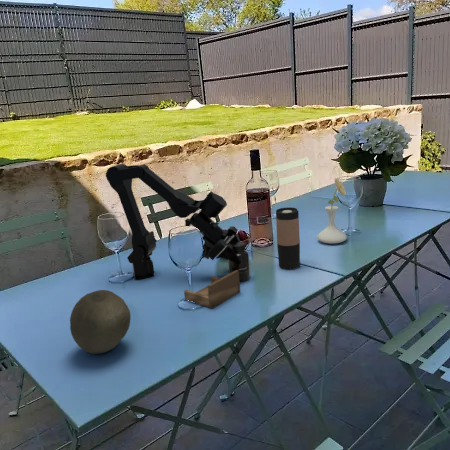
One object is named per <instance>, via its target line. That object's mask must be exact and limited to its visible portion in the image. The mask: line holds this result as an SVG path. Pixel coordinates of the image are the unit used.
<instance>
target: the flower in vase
mask: <svg viewBox="0 0 450 450" xmlns="http://www.w3.org/2000/svg"><path fill="white" fill-rule="evenodd" d="M334 185H335V187H336V189H335V191H334V193H333V197H332V200H331V199H329V200H328V203H327V204H330V205H328V206H325V207H324V209H325V210H326V212H327V215H328V223H327V227H326V228H324V229H323V230H322V231H321V232H320V231H319V233H318V235H317V237H316V239H317V240H318V241H319V242H321V243H325V244H339V243H342V242H344V241H345V242H346V240H347V238H348V235H346V233H345V232H343V230H341V229H340V228H338V227H337V226H336V223H335V219H336V218H335V217H336V212H337V210H338V209H339V207H338V206H337V205H334V203H338V202H339V200H340V199H339V198H338V196H337V195H336V192H337V191H338V193H339V194H340V195H341V196H343V197H346V194H347V192H346V190H345V189H346V187H345V186H344V184H343V182H342V180H340V178H338V177H334Z"/></svg>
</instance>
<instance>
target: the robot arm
mask: <svg viewBox="0 0 450 450" xmlns="http://www.w3.org/2000/svg"><path fill="white" fill-rule="evenodd" d="M105 178H106V180H107V182H108V183H109V186H110V187H111V188H112V190H114V192H116V194H117V196H118V198H119V201H120V203H121V207H122V209H123V211H124V215H125V218H126V220H127V224H128V226H129V229H130V231H131V247H132V248H131V249H132V251H131V253H130V254H129V255H128V256H127V257H126V258H127V260H128V263H130V264H131V265H132V271H133V272H132V274H133V277H134V280H141V279H142V280H143V279H147V278H151V277H155V274H154V273H155V268H154V261H153V260H152V258H151V256H152V255H153V252H154V251H155V250H156V248H157V242H158V240H157V239H156V237H155V233H154V230H152V231H149V230H148V229H147V228H146V226H145V223H144V220H143V218H142V215H141V212H140V209H139V206H138V203H137V201H136V197H135V195H134V192H133V188H132V187H133V179H139V180H141V182H143V183H144V184H145V185H146V186H147V187H149V188H150V189H151V190H152V191H153V192H155V193H156V194H157V195H158V196H160V197H161V198H162V199H163V200H164V201H165V202H166V203H167V204H168V206H169V208H170V209H171V211H172V212H173V213H174V214H175V216H176V217H178V218H181V219H182V218H183V219H184V222H185V226H189V227H190V226H192V227H193V226H194V227H196V228H198V229H199V230H200V232H199V234H201V235H202V240H203V241H204V243H203V244H202V247H203V249H204V251H203V257H202V258H201V259H204V258H205V259H207V260H209V259H210V260H211V261H214V259H222V258H223V259H225V260H227V261H228V260H230V261H232V262H234V263H236V264H238V265H239V264H240V263H241V261H240V259H239V257H238V256H237V254H236V253H235V251H234V249H233V248H232V246H231V245H230V244H231V243H234V242H241V240H240V237H239V234H238V230H239V229H238V228H236V226H229V227H228V229H225V230H224V229H223V228H222V227H220V225H219V224H220V222H218V221H216V222H215V221H214V220H213V219H215V218H217V217H218V216H219V215H220V214H221V213H222V211H223V210H224V209H225V208H226V207H227V206H228V203H227V201H226V200H225V198H224V197H222V196H221V195H219V194H218V193H214V192H213V191H212V190H211V191H210V192H208V193H207V194H206V197H205V198H204V199H203V200H197V199H194V198H193V197H191V196H189V195H187V194H185V193H184V192H182V191H181V192H180V191H179V190H176V189H175V188H174V187H172V186H171V185H170V184H168V182H166V181H165V180H164V179H162V177H160V176H159V175H158V174H157V173H155V172H154V171H153V170H152V169H150V168H149V165H147V164H140V165H133V164H132V165H127V164H125V163H119V164H116V165H112V166H110V167H108V169H107V170H106V172H105ZM198 211H199V212H198ZM197 212H198V213H197ZM190 215H191V217H189V216H190ZM188 217H189V218H188ZM185 218H186V219H185ZM212 218H213V219H212ZM185 226H184V227H185ZM194 227H193V228H194ZM196 228H195V229H196Z"/></svg>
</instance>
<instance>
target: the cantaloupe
mask: <svg viewBox="0 0 450 450" xmlns="http://www.w3.org/2000/svg"><path fill="white" fill-rule="evenodd" d="M69 321H70V323H69V324H70V325H69V328H70V329H69V330H70V334H71V336H72V339H73V340H74V342H75V343H76V344H77V345H78V347H79V348H81V349H82V350H83V351H85V352H86V353H90V354H95V355H96V354H104V353H107V352H109V351H111V350H113V349H114V348H116V347H117V345H119V344H120V342H121V341H122V339H123V338H125V336H126V334H127V333H128V331H129V328H130V326H131V309H130V308H129V307H128V305H127V303H126V302H125V300H124V299H123V298H122V297H121V296H119V295H118V294H116V293H114V292H113V291H111V290H107V289H98V290H95V291H92V292H89V293H87V294H85V295H83V296H82V297H81V298H79V300H78V301H77V302H76V303H75V304H74V306H73V308H72V311H71V314H70V317H69Z"/></svg>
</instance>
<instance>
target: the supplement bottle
mask: <svg viewBox="0 0 450 450" xmlns="http://www.w3.org/2000/svg"><path fill="white" fill-rule="evenodd" d="M230 245H231V246H232V248H233V249H234V251H235V253H236V254H237V256H238V257H239V259H240V261H241V263H240V264H239V265H238V264H236V263H234V262H232V261H230V260H228V259H227V261H228V262H227V265H228V274H230V273H232V272H233V271H235V270H238V271H239V282H240V283H241V282H242V283H243V282H246V281H248V280H249V279H250V276H251V273H250V256H249V252H248V251H247V250H246V243H245V242H242V241H240V242H234V243H231V244H230Z"/></svg>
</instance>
